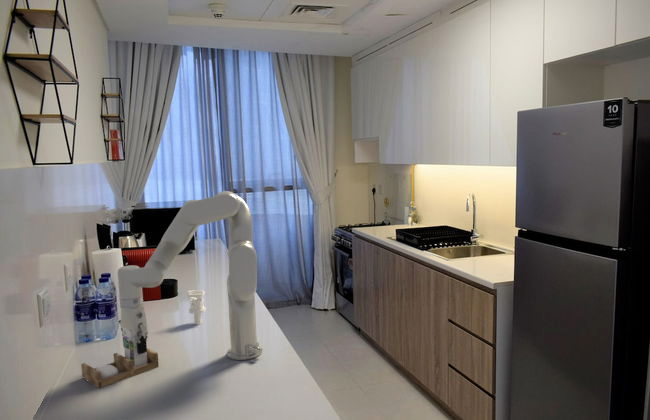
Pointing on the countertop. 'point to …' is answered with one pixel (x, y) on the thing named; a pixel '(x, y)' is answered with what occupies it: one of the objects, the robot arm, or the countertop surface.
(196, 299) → the white slotted cylinder
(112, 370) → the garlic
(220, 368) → the countertop surface
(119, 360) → the rack
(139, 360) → the syrup box
